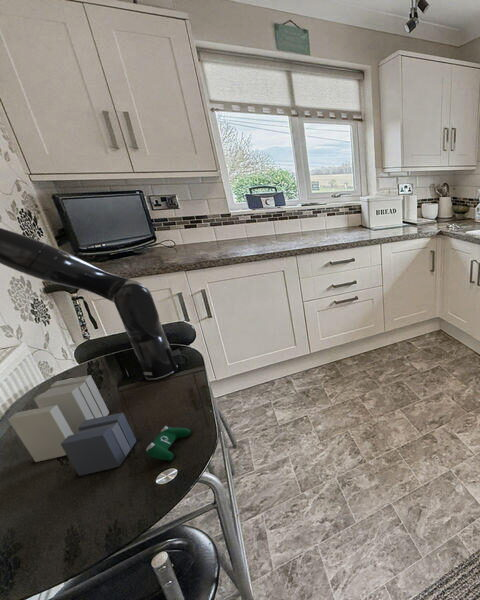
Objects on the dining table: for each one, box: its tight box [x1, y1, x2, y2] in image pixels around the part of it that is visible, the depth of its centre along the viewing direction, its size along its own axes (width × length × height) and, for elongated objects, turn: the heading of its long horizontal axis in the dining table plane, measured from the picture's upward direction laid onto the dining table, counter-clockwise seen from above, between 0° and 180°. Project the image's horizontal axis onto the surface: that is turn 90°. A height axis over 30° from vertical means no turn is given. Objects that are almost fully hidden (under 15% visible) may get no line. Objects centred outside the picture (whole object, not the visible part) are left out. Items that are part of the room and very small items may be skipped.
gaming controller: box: [145, 425, 191, 461], centre depth 79 cm, size 9×4×6 cm
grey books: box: [61, 412, 137, 477], centre depth 77 cm, size 8×8×9 cm
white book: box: [7, 405, 74, 463], centre depth 78 cm, size 2×8×13 cm, turn 105°
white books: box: [33, 374, 110, 434], centre depth 88 cm, size 8×8×13 cm
